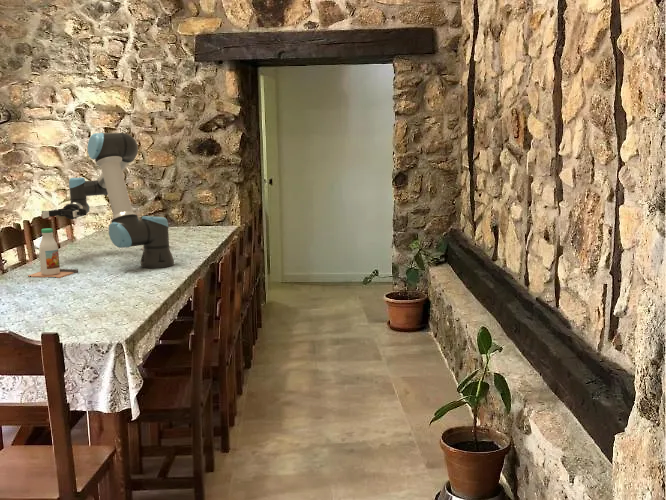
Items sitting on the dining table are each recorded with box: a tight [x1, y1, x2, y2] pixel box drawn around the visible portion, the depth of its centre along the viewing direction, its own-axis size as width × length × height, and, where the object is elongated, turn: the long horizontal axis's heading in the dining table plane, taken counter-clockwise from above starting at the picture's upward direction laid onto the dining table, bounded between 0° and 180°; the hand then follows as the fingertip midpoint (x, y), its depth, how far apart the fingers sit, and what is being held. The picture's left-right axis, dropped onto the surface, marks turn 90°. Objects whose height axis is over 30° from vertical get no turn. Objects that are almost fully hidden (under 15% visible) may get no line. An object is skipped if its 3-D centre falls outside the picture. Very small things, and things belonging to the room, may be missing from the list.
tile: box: [27, 270, 75, 279], centre depth 300 cm, size 16×10×1 cm, turn 78°
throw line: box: [60, 268, 79, 274], centre depth 306 cm, size 18×1×2 cm, turn 78°
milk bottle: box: [38, 227, 61, 275], centre depth 299 cm, size 8×8×20 cm
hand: (58, 214), depth 310 cm, fingers open, 13 cm apart
